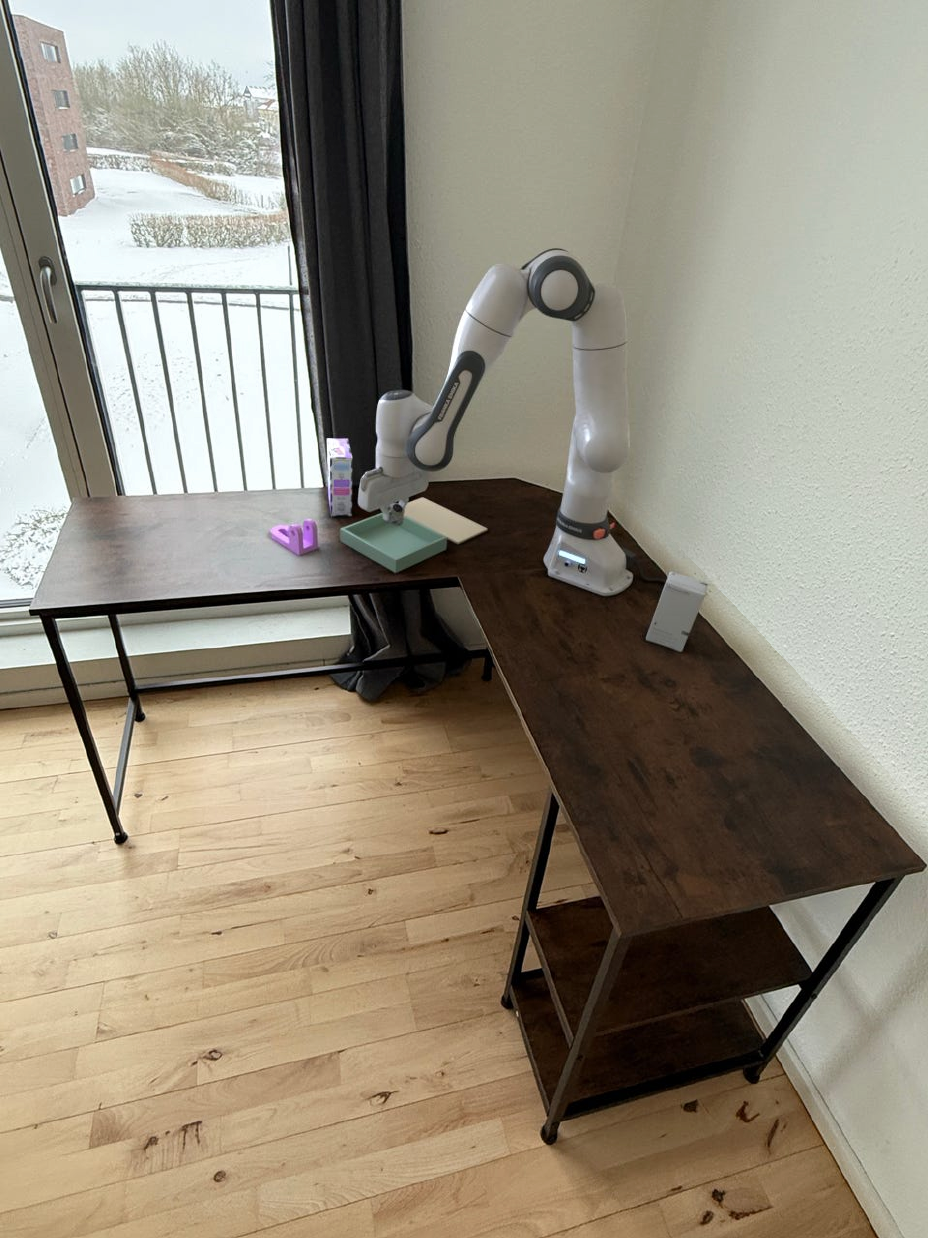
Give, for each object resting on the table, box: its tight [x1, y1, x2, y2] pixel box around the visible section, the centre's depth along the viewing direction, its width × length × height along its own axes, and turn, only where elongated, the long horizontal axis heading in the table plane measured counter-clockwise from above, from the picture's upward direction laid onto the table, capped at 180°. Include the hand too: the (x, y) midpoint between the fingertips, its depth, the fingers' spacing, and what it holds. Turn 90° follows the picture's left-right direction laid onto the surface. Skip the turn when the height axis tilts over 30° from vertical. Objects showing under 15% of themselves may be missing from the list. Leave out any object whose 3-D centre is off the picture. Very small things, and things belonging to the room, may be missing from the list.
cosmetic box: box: [645, 571, 709, 653], centre depth 140 cm, size 8×6×15 cm
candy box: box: [326, 437, 353, 517], centre depth 177 cm, size 14×6×16 cm, turn 12°
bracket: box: [270, 518, 319, 556], centre depth 161 cm, size 13×6×7 cm, turn 48°
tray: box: [339, 509, 448, 574], centre depth 165 cm, size 20×18×4 cm
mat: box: [404, 497, 489, 545], centre depth 180 cm, size 24×12×1 cm, turn 49°
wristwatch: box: [387, 502, 404, 526], centre depth 162 cm, size 4×6×5 cm, turn 42°
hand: (393, 516), depth 163 cm, fingers closed on wristwatch, 3 cm apart
